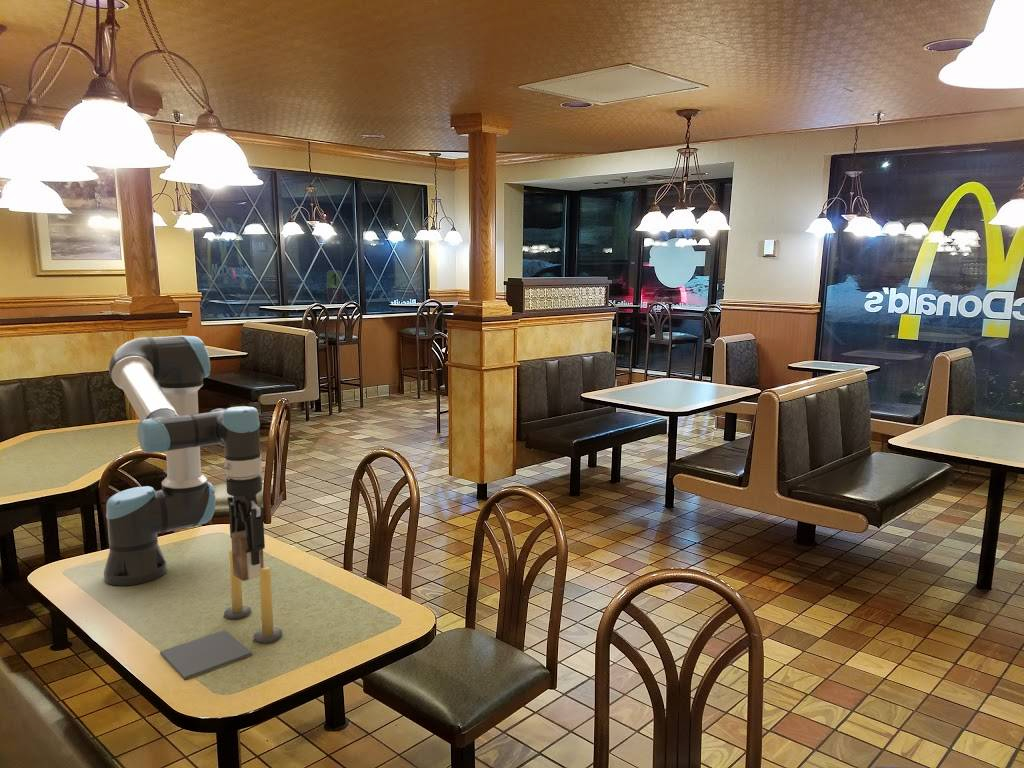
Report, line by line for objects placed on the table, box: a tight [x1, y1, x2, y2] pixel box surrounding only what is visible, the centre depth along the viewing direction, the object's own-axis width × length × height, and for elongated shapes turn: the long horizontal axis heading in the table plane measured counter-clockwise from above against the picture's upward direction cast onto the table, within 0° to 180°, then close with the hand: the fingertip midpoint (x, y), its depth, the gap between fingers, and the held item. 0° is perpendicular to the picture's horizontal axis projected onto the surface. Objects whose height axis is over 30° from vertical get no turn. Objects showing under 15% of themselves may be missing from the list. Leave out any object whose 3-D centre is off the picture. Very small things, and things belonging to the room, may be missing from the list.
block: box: [230, 530, 265, 582], centre depth 163 cm, size 5×5×10 cm
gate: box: [223, 548, 283, 645], centre depth 164 cm, size 22×6×16 cm, turn 44°
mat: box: [159, 629, 253, 681], centre depth 152 cm, size 14×14×1 cm
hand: (248, 573), depth 164 cm, fingers closed on block, 5 cm apart
